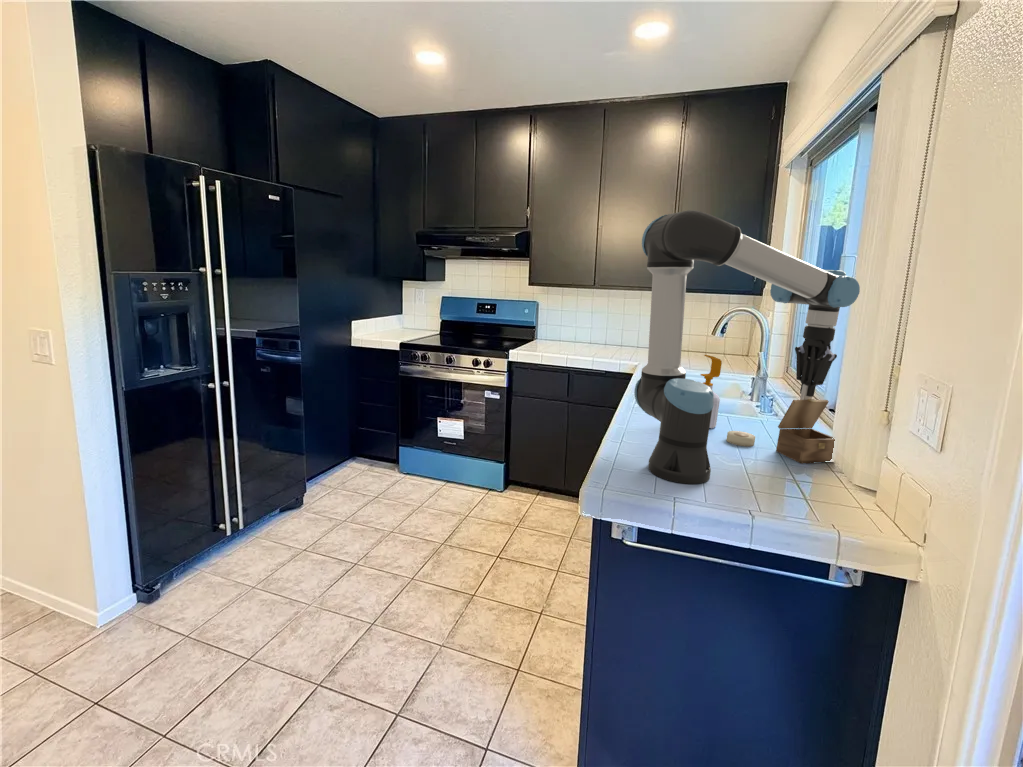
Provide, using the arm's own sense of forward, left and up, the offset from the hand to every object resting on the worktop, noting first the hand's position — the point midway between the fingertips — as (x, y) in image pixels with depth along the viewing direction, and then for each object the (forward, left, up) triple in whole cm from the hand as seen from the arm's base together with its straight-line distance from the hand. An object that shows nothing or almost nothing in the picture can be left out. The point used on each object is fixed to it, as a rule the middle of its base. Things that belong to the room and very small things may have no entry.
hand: (804, 406), depth 146 cm
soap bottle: (-14, +28, -15) cm, 34 cm away
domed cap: (-12, +10, -15) cm, 21 cm away
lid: (0, -1, -3) cm, 3 cm away
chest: (0, -3, -14) cm, 15 cm away
